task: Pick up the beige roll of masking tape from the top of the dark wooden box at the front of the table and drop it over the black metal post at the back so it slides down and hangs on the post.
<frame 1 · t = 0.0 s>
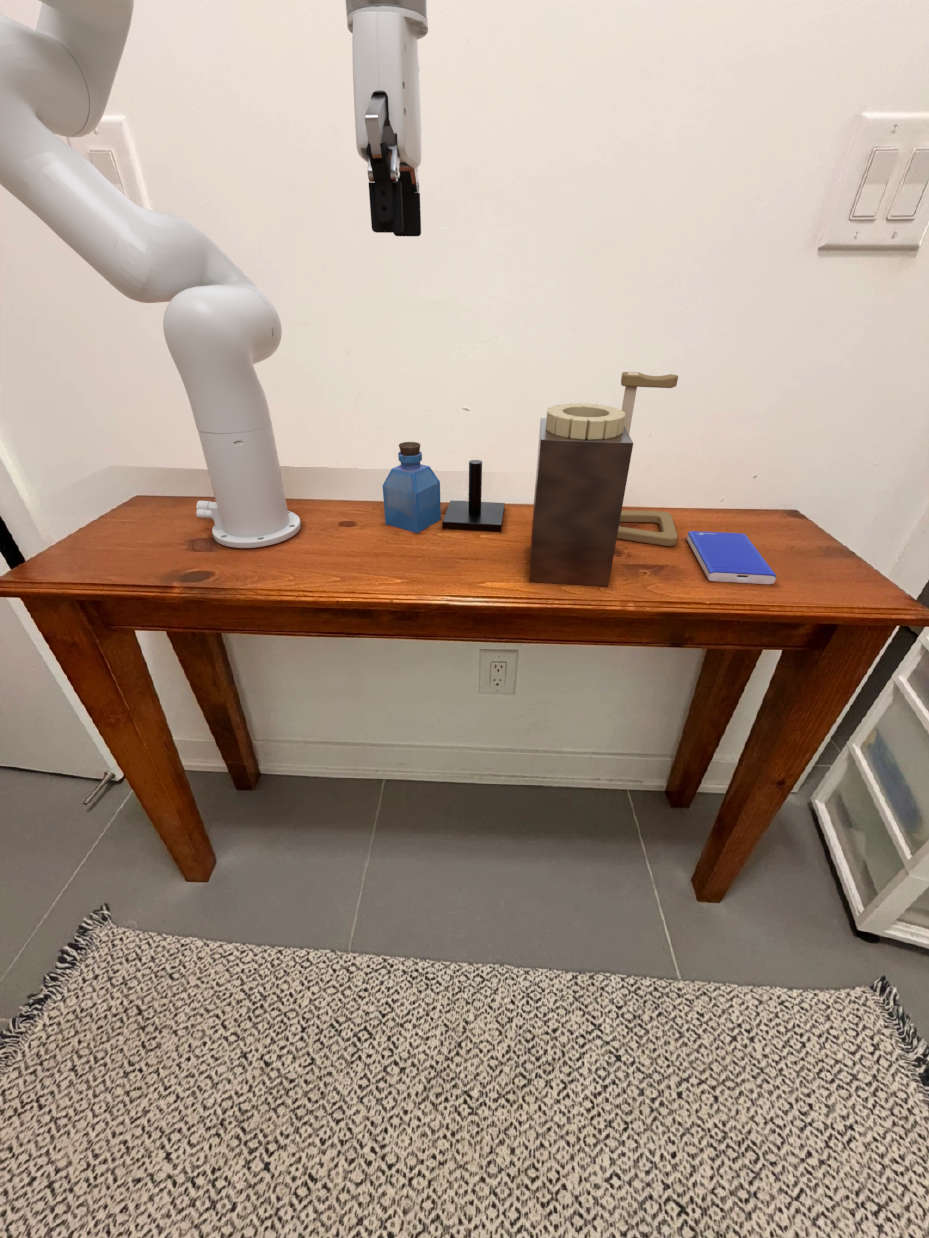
hand: (398, 234, 60), 37 cm above the table, tool pointing down, fingers open, 9 cm apart
hard drive: (726, 562, 75), on the table
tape: (583, 429, 63), point 18 cm above the table, touching stand box
post: (474, 519, 86), on the table
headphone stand: (635, 531, 83), on the table
perfume bottle: (413, 523, 85), on the table
stand box: (566, 566, 73), on the table
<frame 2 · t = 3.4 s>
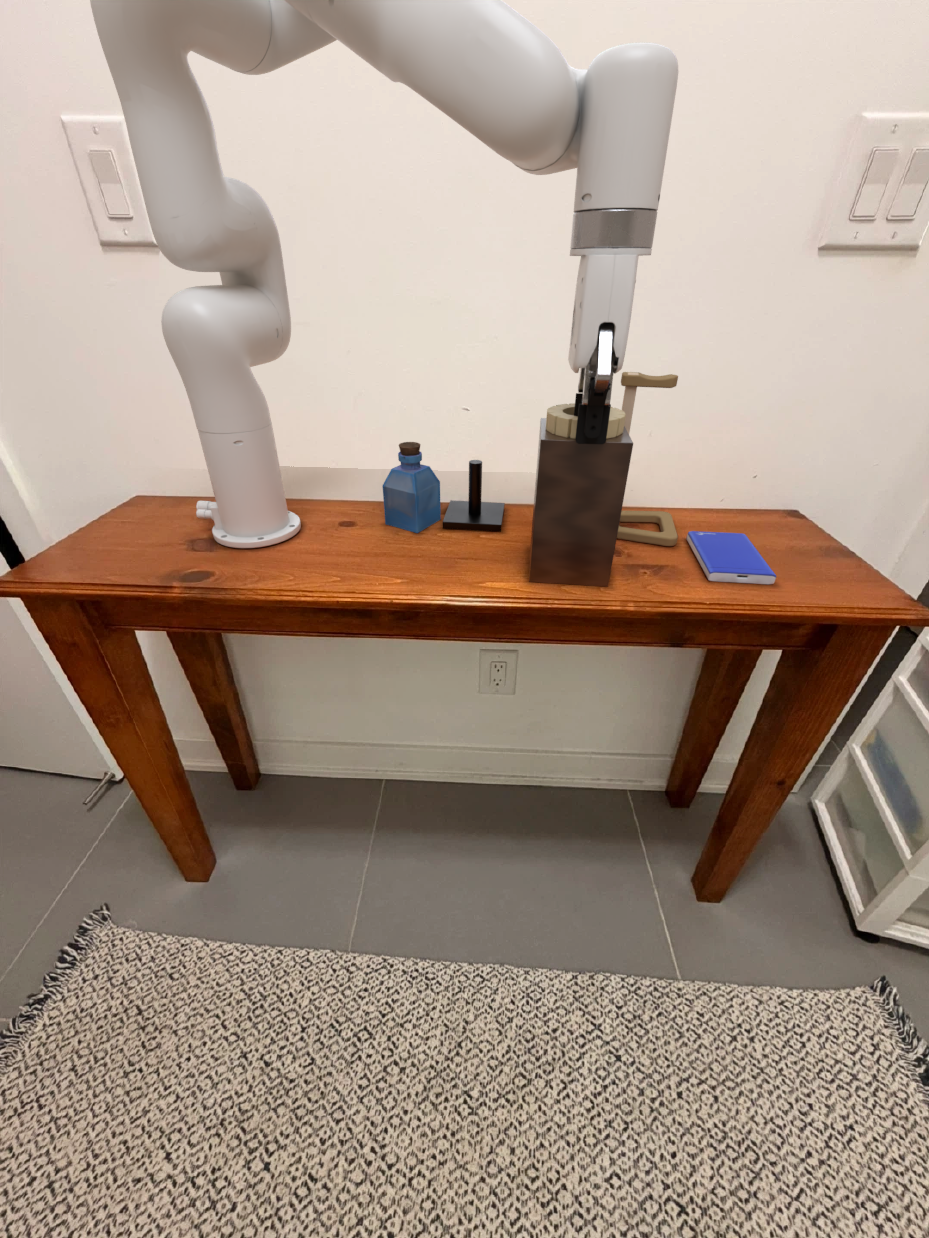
hand: (588, 435, 60), 18 cm above the table, tool pointing down, fingers open, 4 cm apart
nothing on the table moved.
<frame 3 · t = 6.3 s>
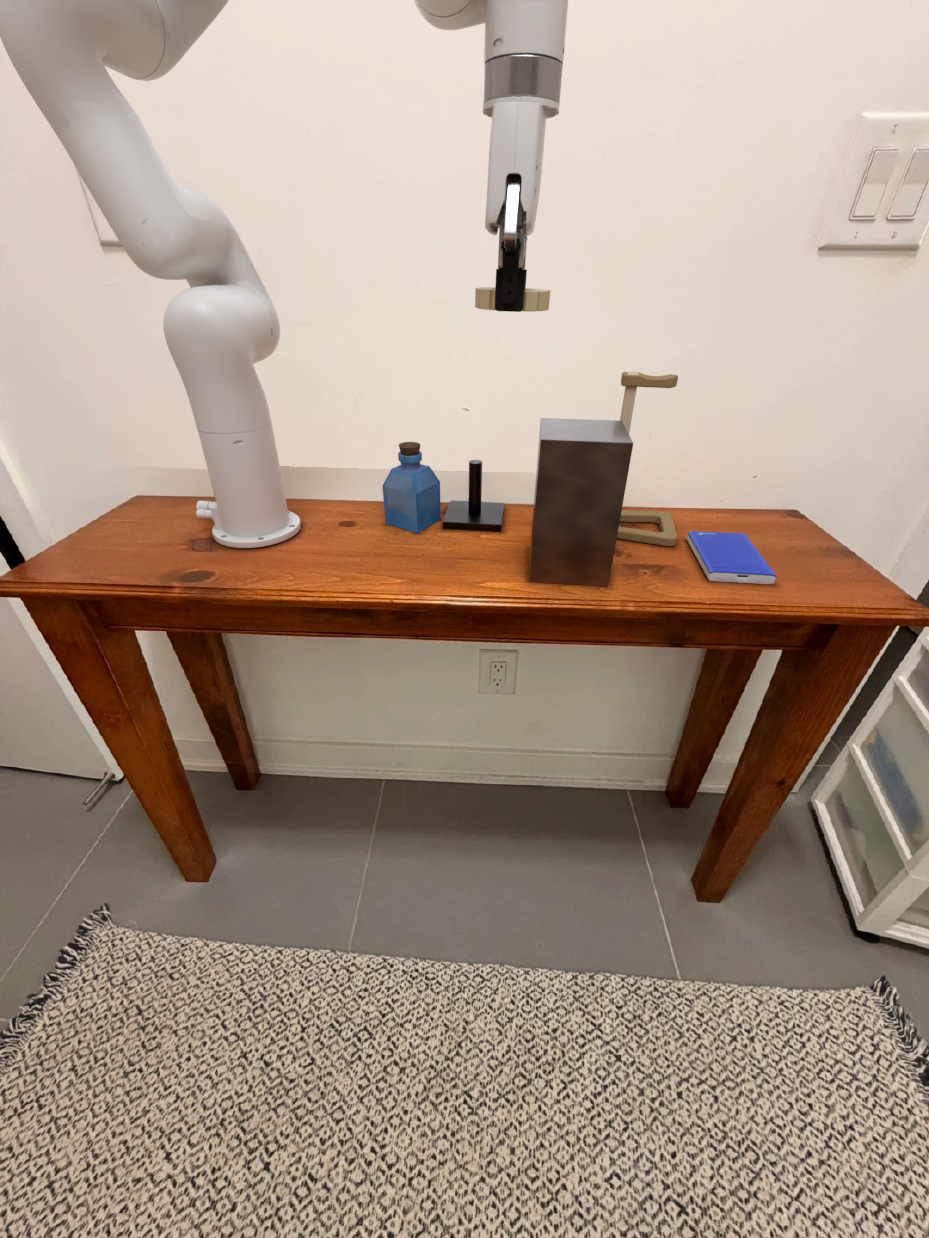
hand: (509, 308, 63), 30 cm above the table, tool pointing down, fingers closed on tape
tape: (511, 308, 66), point 30 cm above the table, touching gripper
everything else where it was.
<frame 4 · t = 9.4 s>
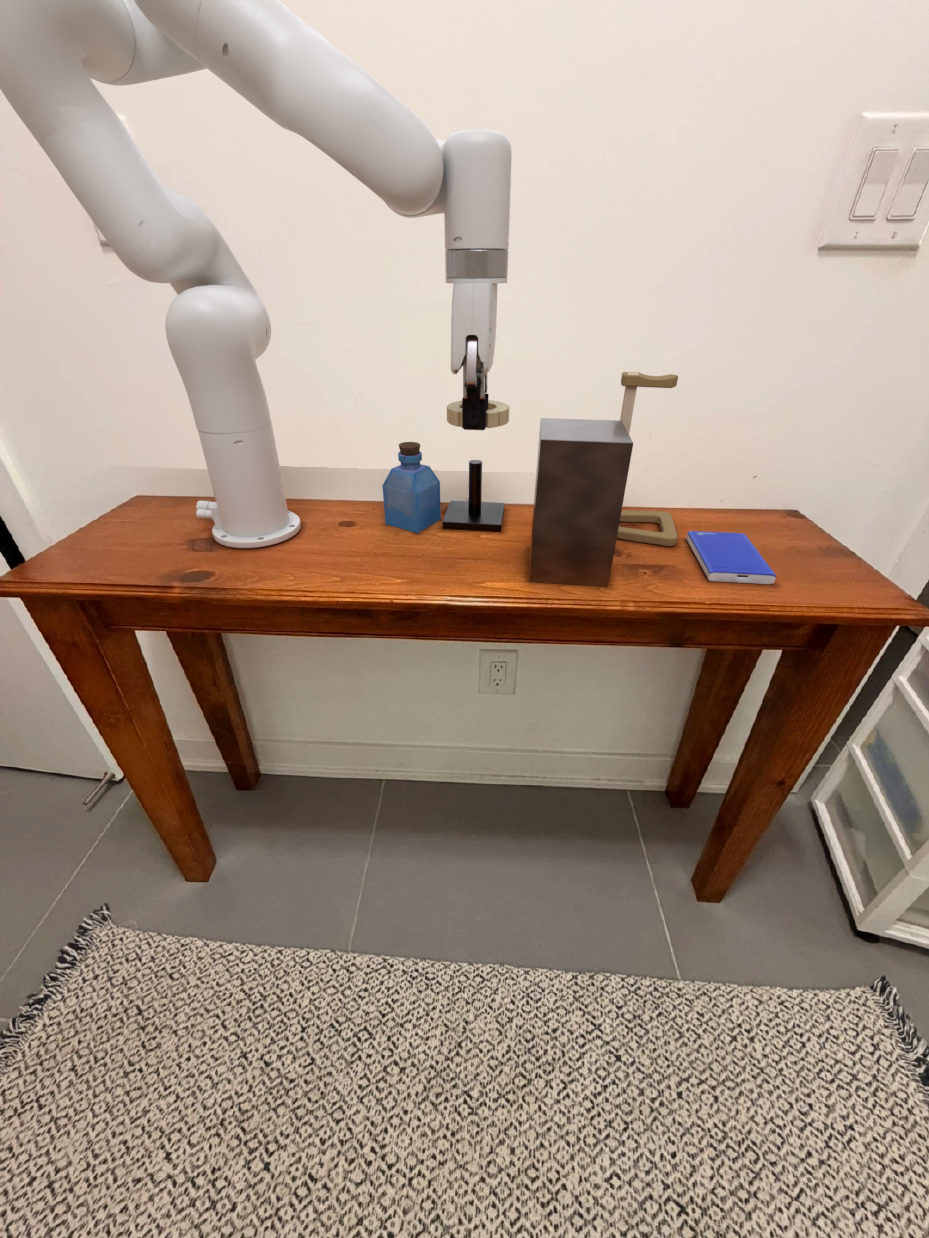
hand: (475, 425, 75), 15 cm above the table, tool pointing down, fingers closed on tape, 2 cm apart
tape: (477, 420, 78), point 15 cm above the table, touching gripper
everything else where it was.
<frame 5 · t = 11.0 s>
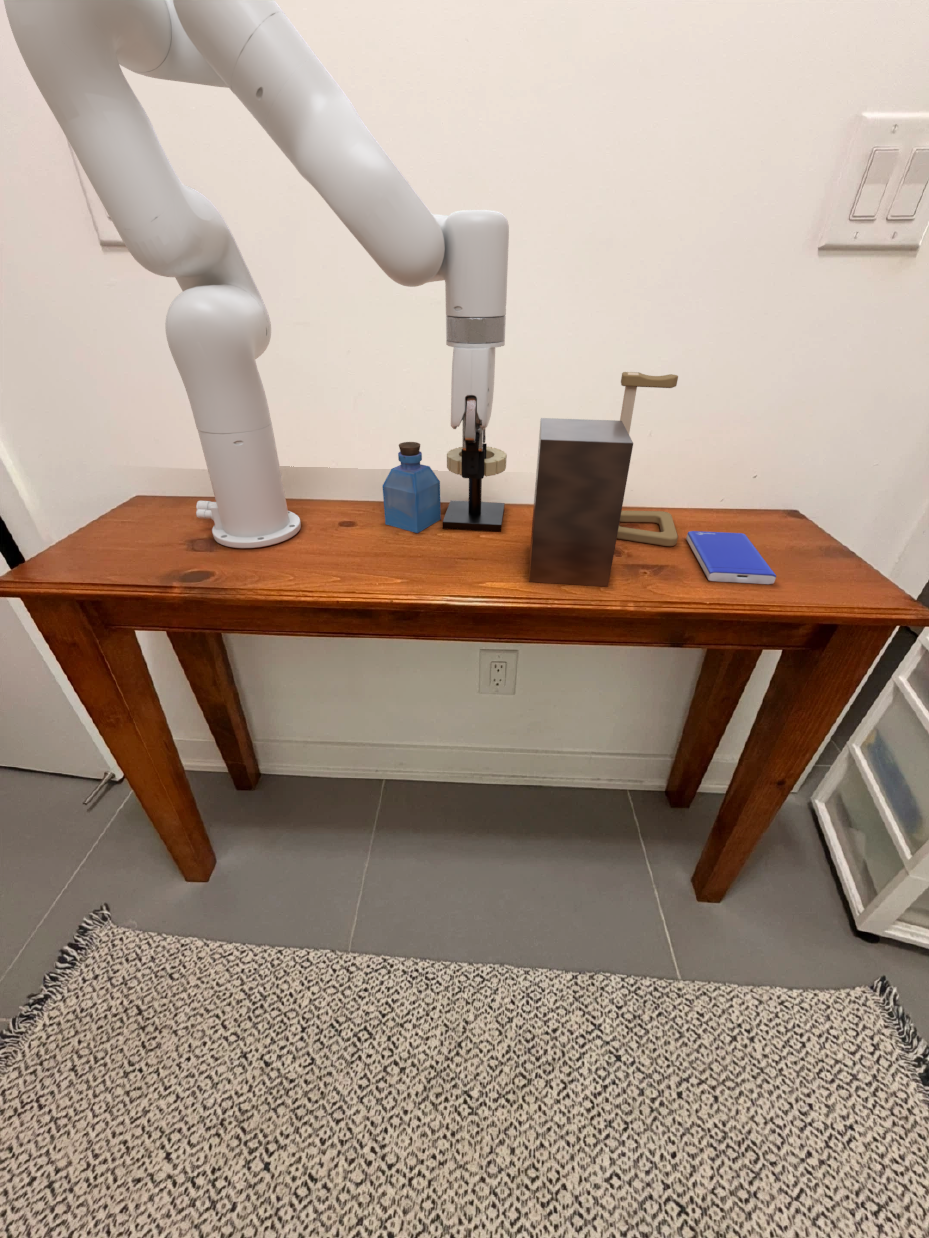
hand: (474, 473, 79), 9 cm above the table, tool pointing down, fingers closed on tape, 2 cm apart
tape: (476, 467, 82), point 8 cm above the table, touching gripper
everything else where it was.
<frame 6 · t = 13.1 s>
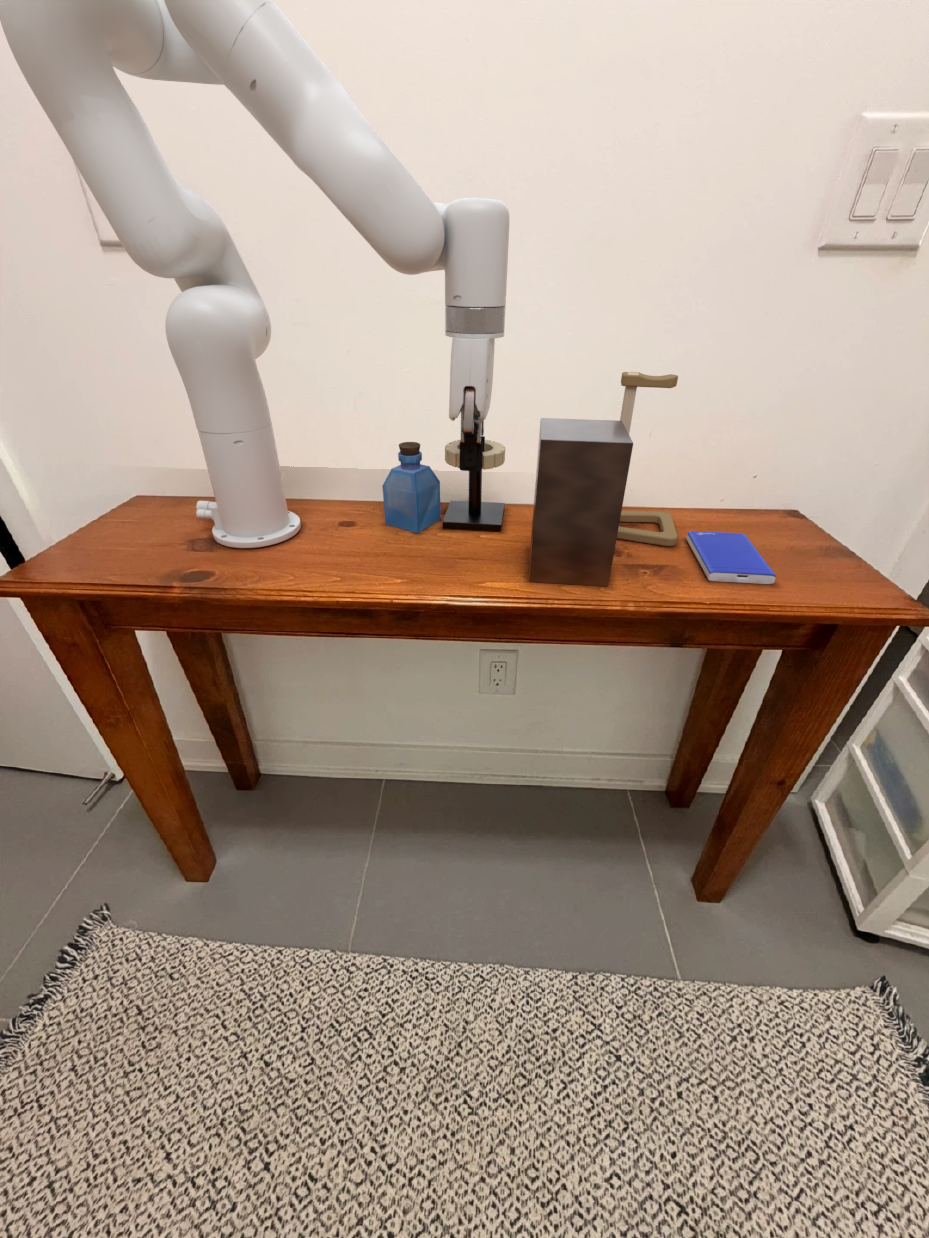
hand: (471, 466, 78), 10 cm above the table, tool pointing down, fingers closed on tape, 2 cm apart
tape: (474, 460, 81), point 9 cm above the table, touching gripper
everything else where it was.
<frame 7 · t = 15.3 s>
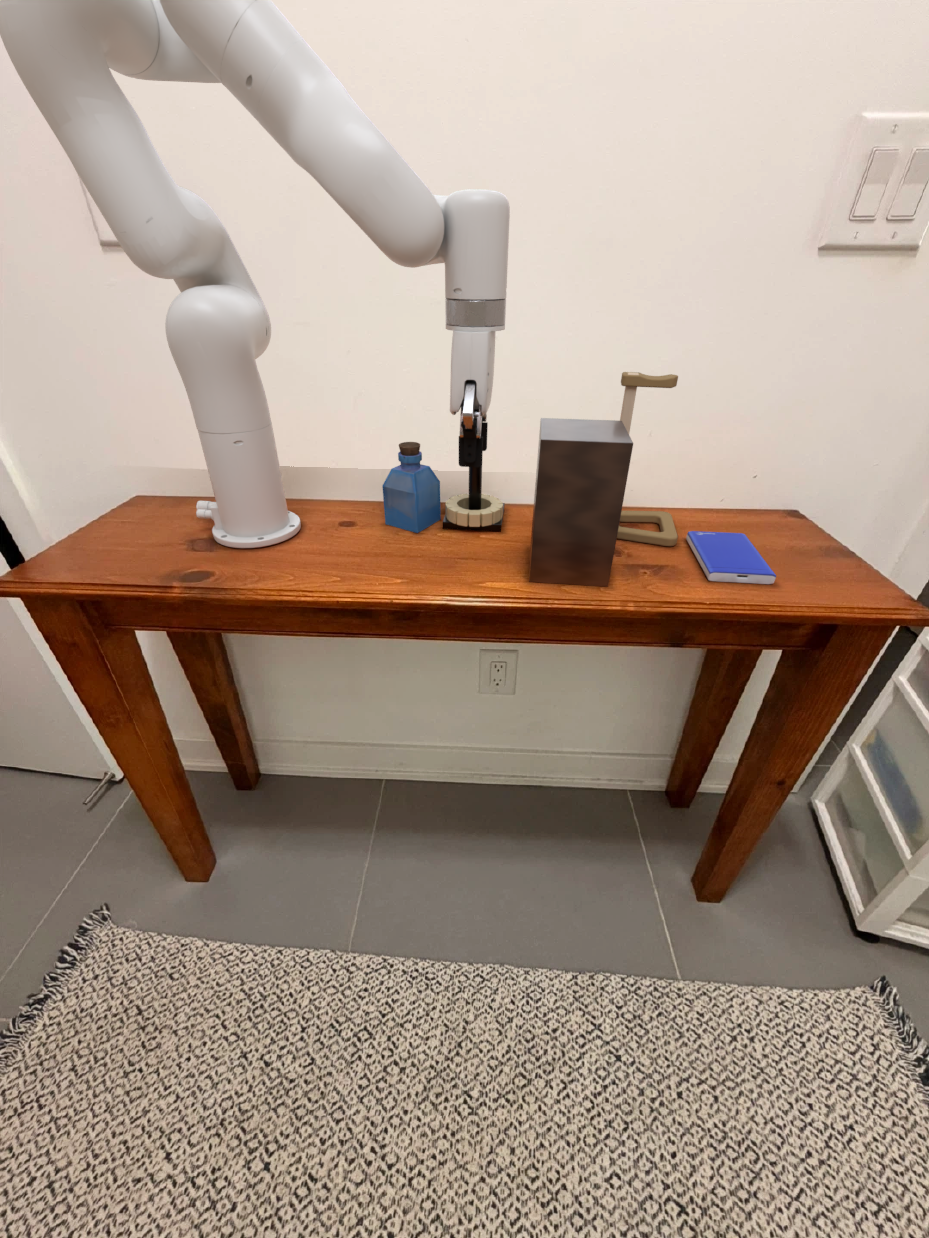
hand: (473, 457, 78), 11 cm above the table, tool pointing down, fingers open, 7 cm apart
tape: (474, 515, 85), point 1 cm above the table, touching post
everything else where it was.
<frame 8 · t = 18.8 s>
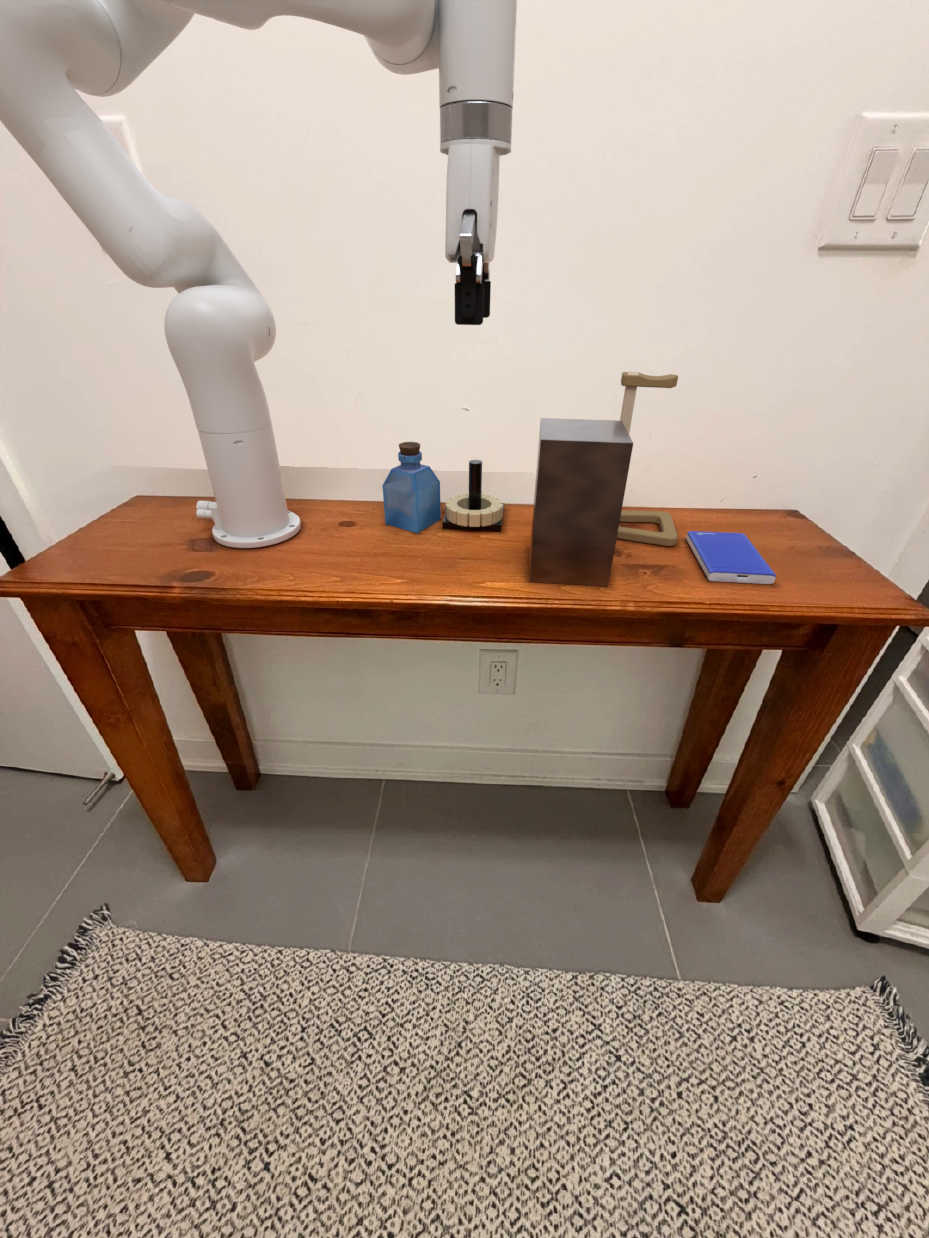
hand: (473, 320, 66), 28 cm above the table, tool pointing down, fingers open, 9 cm apart
nothing on the table moved.
at the end: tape 1.5 cm from the post (horizontally); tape point 1.2 cm above the table; the gripper is holding nothing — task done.
